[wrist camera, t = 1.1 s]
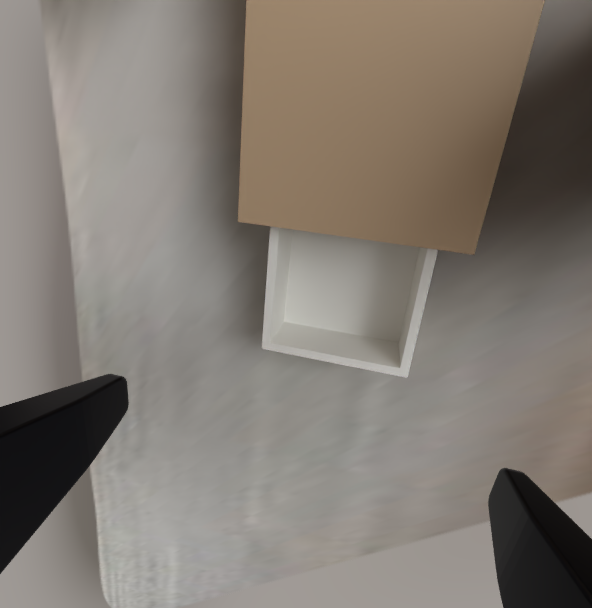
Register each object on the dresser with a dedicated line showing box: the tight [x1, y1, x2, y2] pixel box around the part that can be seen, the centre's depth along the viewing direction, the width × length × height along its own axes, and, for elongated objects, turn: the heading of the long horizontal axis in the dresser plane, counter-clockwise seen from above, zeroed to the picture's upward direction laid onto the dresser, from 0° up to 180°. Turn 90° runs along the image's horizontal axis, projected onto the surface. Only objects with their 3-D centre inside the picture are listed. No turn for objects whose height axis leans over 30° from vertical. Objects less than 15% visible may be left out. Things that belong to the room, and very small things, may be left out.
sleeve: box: [238, 0, 545, 255], centre depth 13 cm, size 9×16×4 cm, turn 174°
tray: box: [262, 226, 438, 378], centre depth 16 cm, size 7×16×3 cm, turn 174°
